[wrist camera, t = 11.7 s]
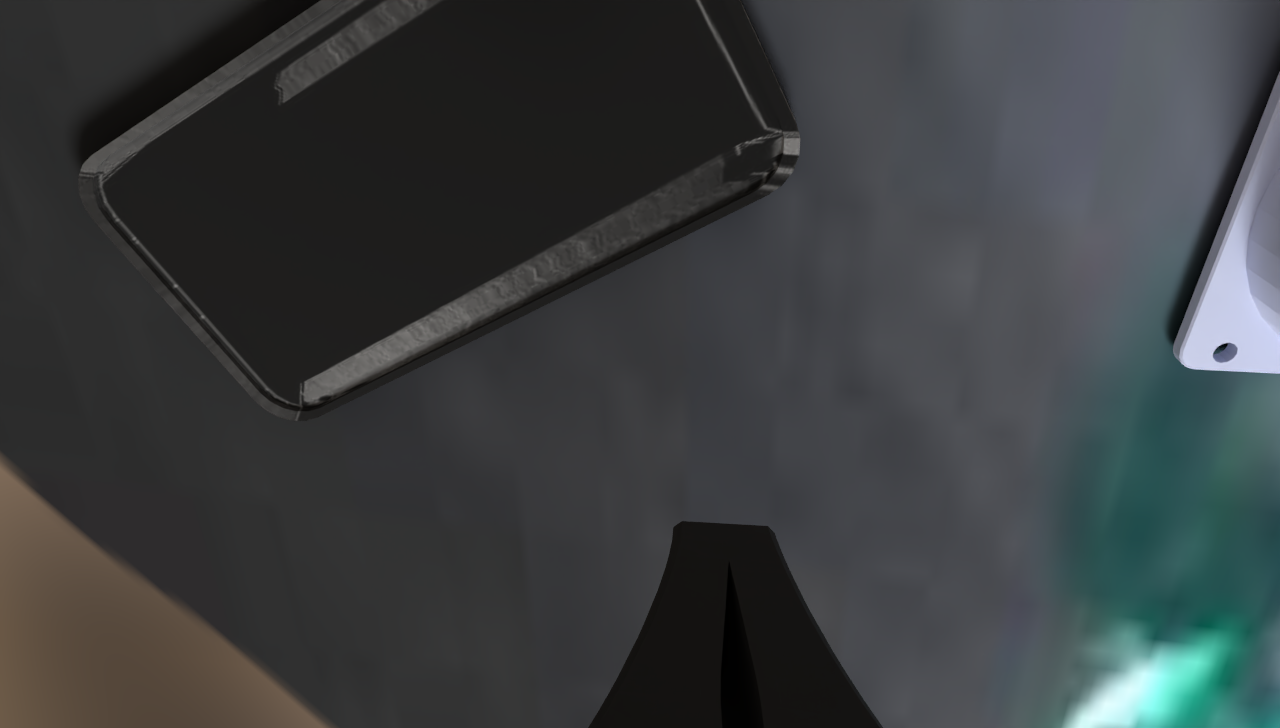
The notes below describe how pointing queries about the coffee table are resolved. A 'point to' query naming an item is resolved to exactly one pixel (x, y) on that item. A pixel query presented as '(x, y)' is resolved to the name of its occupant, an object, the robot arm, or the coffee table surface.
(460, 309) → the phone
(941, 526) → the coffee table surface
